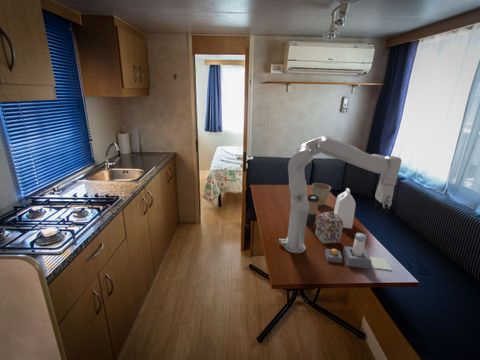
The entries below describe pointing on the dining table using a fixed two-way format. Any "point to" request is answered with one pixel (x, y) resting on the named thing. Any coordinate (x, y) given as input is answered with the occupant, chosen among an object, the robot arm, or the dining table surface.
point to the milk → (345, 208)
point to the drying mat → (380, 263)
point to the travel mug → (312, 209)
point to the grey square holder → (356, 258)
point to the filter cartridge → (359, 244)
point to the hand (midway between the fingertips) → (380, 210)
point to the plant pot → (321, 192)
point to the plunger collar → (333, 256)
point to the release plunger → (334, 252)
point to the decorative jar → (329, 227)
